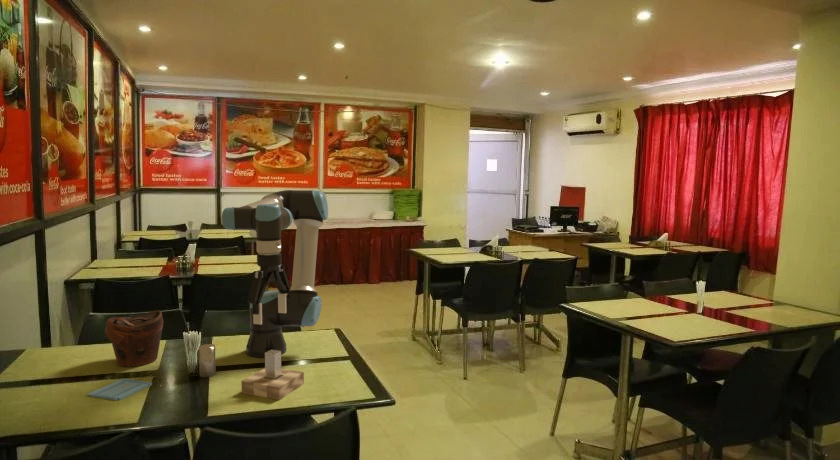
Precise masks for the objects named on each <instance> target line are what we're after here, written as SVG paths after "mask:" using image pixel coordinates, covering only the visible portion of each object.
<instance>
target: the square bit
mask: <svg viewBox="0 0 840 460" xmlns="http://www.w3.org/2000/svg"><path fill="white" fill-rule="evenodd" d="M264 368H265V379H271V380H276V379H278V378H280V377H281V369H282V354H281V351H278V350H270V351H268V352H266V353H265V357H264Z"/></svg>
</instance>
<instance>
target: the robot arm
mask: <svg viewBox="0 0 840 460" xmlns="http://www.w3.org/2000/svg"><path fill="white" fill-rule="evenodd" d="M328 205H329V204H328V199H327V197H326V194H325V193H324V191H322V190H313V189H312V190H303V189H299V190H298V189H295V190H294V189H293V190H292V189H285V190H284V189H283V190H280V191H276V192H273V193H269V194H267V195H264V196H263V197H262V198H261V199H259V200H257V201H255V202H251V203H249V204H245V205H242V206H240V207H238V206H237V207H235V206H232V207H226V208H224V209H223V211H222V213H221V224H222V226H223V227H222V228H224V229H225V230H229V231H230V230H231V231H238V230H239V231H256V232H255V233H256V241H255V242H256V252H257V254H256V265H257V266H258V267H259V268H260V269H259V271H257V270H254V271H253V272H252V274H253V275H252V281H251V285H250V289H249V292H248V298H247V300H246V301H247V303H248V304H249V307H248V308H249V321H250V322H249V323H250V333H249V337H248V340H247V342H246V347H245V351H246V352H245V354H246V355H247V356H249V357H253V358H265V353H266V352H268V351H270V350H278V351H281V355H283V354H284V353H285V352H287V342H286V340H285V337H284V334H283V330H282V327H301V328H305V327H314V326H315V325H316V324H317V323H318V321H319V319H320V315H321V313H322V312H321V311H322V305H323V304H322V302H323V301H322V297H321V296H319V295H318V293H319V292H318V290H317V289H316V288H315V280H316V267H317V265H316V264H317V254H318V253H317V252H318V243H319V242H318V241H319V240H318V239H319V229H320V228H321V227H322V226H323V224H324V221H325V220H328V218H329V207H328ZM292 223H293V224H294V225H295V226H296V230H295V231H296V233H295V242H294V243H295V245H294V255H293V267H292V278H291V279H292V280H291V285H290V282H289V279H288V276H287V272H286V267H285V265H284V264H282V253H281V252H282V242H281V241H282V231H284V230H286V229H288V228H289V227H291V225H292ZM270 283H273V284H274V286H275V287H276V289H277V290H269V291H268V290H267V291H266V288H267V287H268V286H269V285H270Z"/></svg>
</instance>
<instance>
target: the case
mask: <svg viewBox="0 0 840 460" xmlns="http://www.w3.org/2000/svg"><path fill="white" fill-rule="evenodd" d="M163 327H164V318H163V313H162V311H161V310H157V309H156V310H153V311H150V312H147V313H146V312H145V313H142V314H139V315H134V316H118V317H110V318H108V319H107V321H106V325H105V328H104V333H105V335H106V337H107V339H108V340H110V342H111V344H112V349H113V353H114V355H115V356H114V357H115V358H116V363H117V365H118V366H120V367H126V368H127V367H128V368H129V367H139V366H146V365H149V364H151V363H154V362H156V360H157V359H158V356H159V350H160V343H161V339H162V331H163Z"/></svg>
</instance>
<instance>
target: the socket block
mask: <svg viewBox="0 0 840 460" xmlns="http://www.w3.org/2000/svg"><path fill="white" fill-rule="evenodd" d="M240 383H241V394H243V395H244V394H245V395H249V396H256V397H260V398H266V399H272V400H278V401H280V400H283V398H285V397H287V396H288V395H289V394H291V393H293V392H294V391H295V390H297V389H298V388H300V387H301V386H303V385H304V384H305V372H304V371H299V370H292V369H285V368H281V377H280V378H278V379H276V380H271V379H265V367H264V368H263V369H261V370H258V371H257V372H255V373H254V374H252V375H250V376H248V377H246V378H245V379H243V380H241V381H240Z"/></svg>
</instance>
